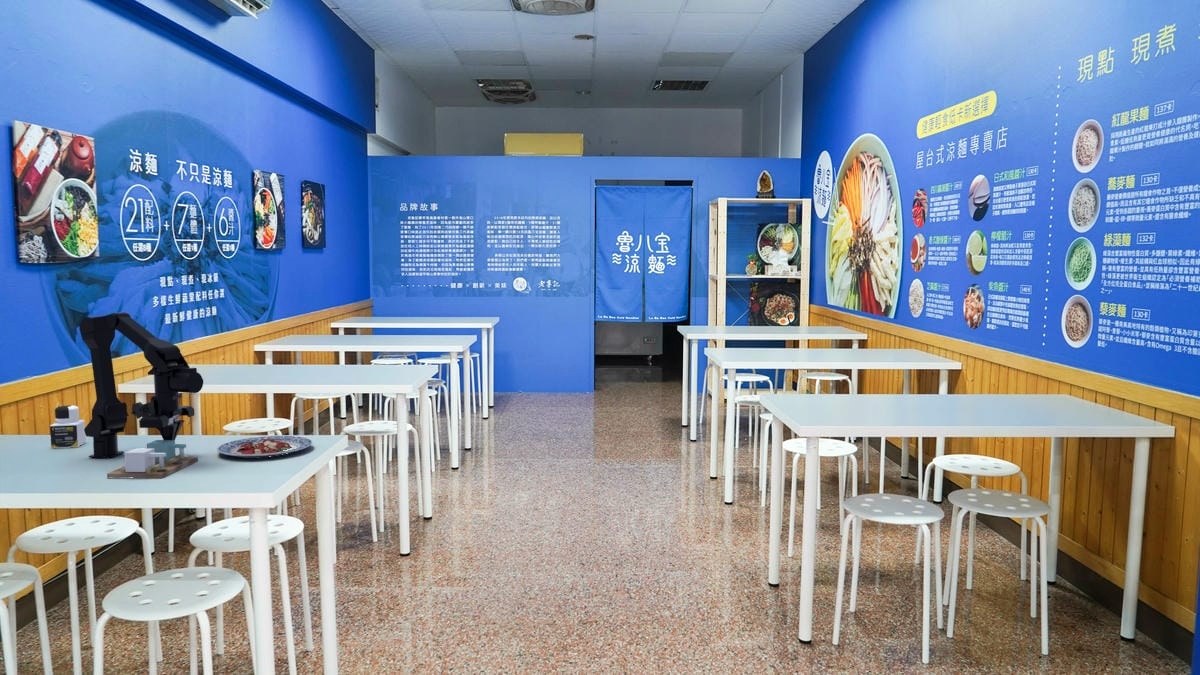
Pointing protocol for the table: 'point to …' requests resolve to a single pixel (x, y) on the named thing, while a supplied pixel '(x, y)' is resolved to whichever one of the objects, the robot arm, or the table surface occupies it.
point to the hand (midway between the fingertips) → (169, 447)
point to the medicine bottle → (67, 428)
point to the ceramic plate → (263, 446)
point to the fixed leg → (142, 459)
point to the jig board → (157, 468)
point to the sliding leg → (166, 448)
